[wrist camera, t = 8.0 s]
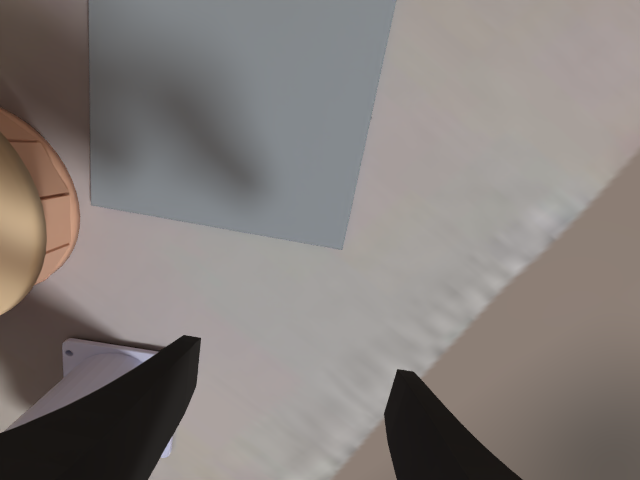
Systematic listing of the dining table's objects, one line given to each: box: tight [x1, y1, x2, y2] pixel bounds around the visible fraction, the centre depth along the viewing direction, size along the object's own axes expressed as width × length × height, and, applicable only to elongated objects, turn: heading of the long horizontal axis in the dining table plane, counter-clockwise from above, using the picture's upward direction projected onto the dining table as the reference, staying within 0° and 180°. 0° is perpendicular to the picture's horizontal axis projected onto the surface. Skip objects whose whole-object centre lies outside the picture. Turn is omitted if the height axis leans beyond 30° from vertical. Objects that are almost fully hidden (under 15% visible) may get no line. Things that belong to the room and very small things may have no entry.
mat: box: [89, 0, 396, 250], centre depth 18 cm, size 16×16×1 cm
